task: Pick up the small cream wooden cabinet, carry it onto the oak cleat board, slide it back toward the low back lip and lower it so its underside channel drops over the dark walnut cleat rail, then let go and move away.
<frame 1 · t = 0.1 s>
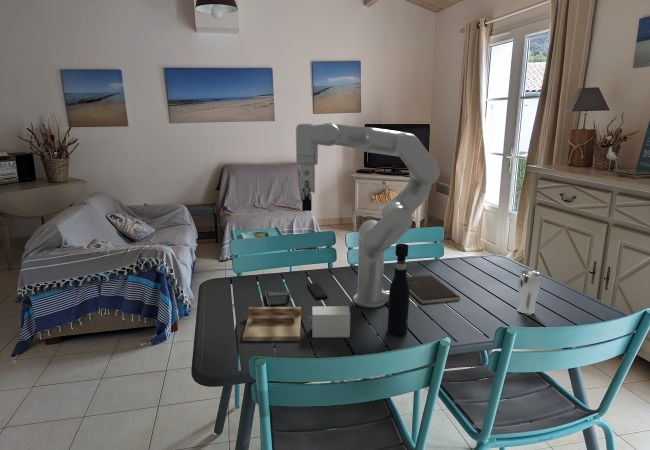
hand: (307, 207, 155), 37 cm above the table, tool pointing down, fingers open, 9 cm apart
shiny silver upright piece: (525, 312, 158), on the table
wine bottle: (397, 332, 142), on the table
remote control: (317, 293, 174), on the table
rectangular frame: (278, 303, 164), on the table
hardcover book: (427, 292, 176), on the table
cabinet: (330, 332, 142), on the table
cleat board: (273, 328, 144), on the table
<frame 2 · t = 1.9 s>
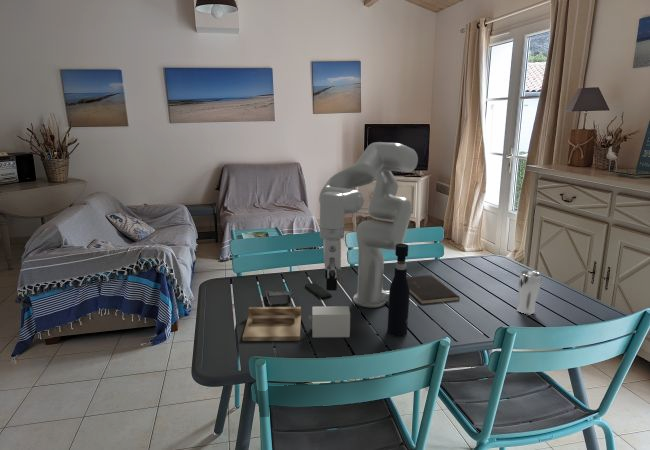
hand: (330, 284, 137), 17 cm above the table, tool pointing down, fingers open, 9 cm apart
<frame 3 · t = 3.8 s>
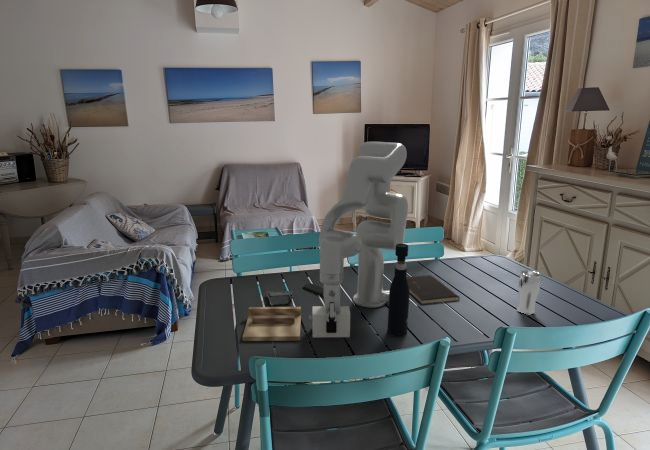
hand: (330, 326, 141), 2 cm above the table, tool pointing down, fingers closed on cabinet, 6 cm apart
cabinet: (330, 332, 142), on the table, touching gripper
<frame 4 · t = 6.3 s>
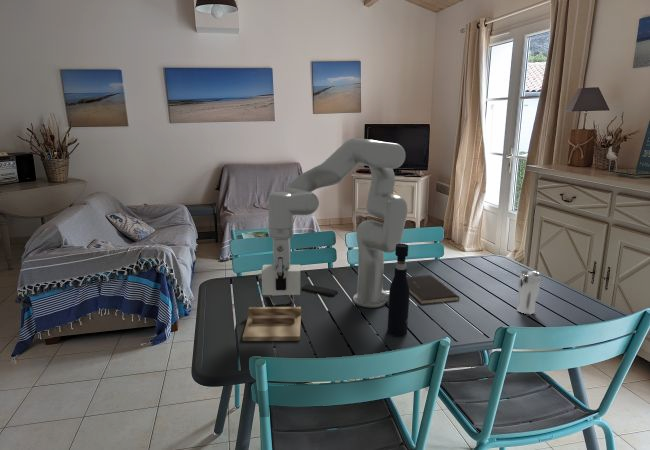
hand: (281, 285, 139), 16 cm above the table, tool pointing down, fingers closed on cabinet, 6 cm apart
cabinet: (281, 291, 139), point 14 cm above the table, touching gripper
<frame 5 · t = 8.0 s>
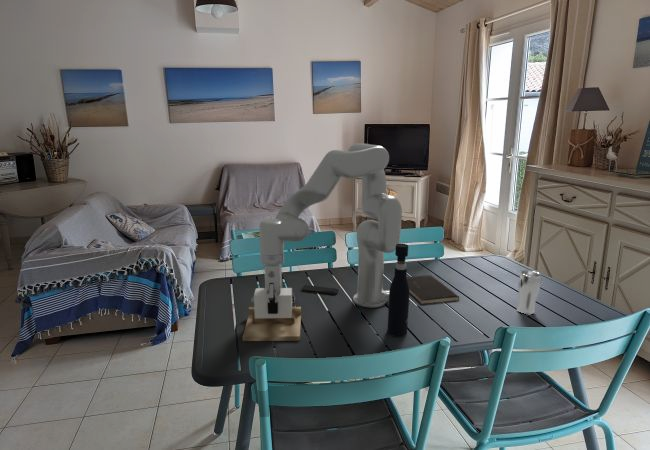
hand: (273, 308, 143), 7 cm above the table, tool pointing down, fingers closed on cabinet, 6 cm apart
cabinet: (273, 313, 144), point 5 cm above the table, touching gripper
when the fingers open (5 cm above the table, at t = 9.1 s): cabinet drops 1 cm, resting on cleat board.
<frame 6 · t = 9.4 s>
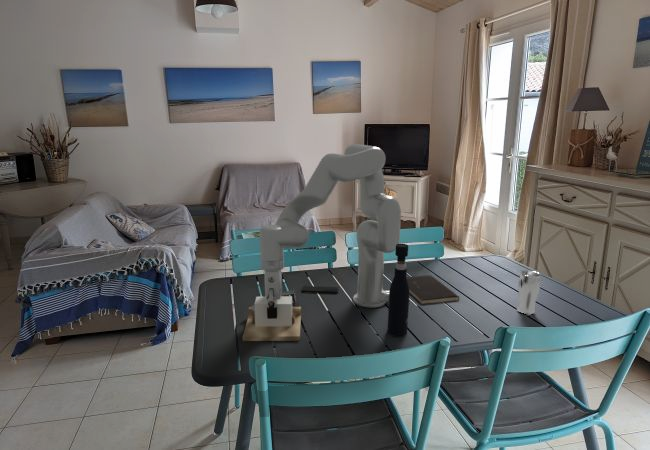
hand: (273, 311, 144), 5 cm above the table, tool pointing down, fingers open, 9 cm apart
cabinet: (274, 322, 145), point 1 cm above the table, touching cleat board
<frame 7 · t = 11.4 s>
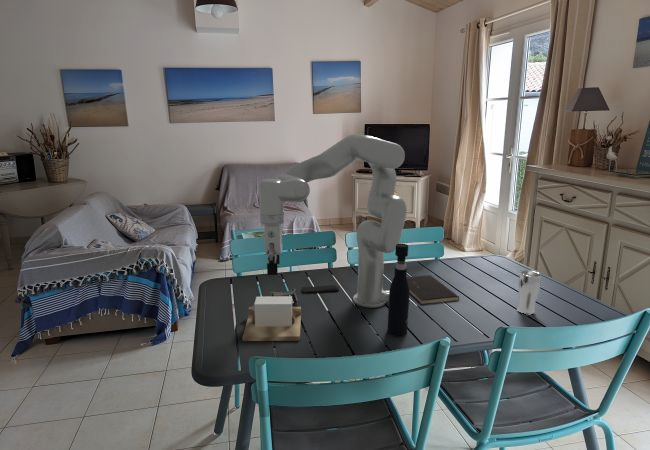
hand: (273, 269, 141), 20 cm above the table, tool pointing down, fingers open, 9 cm apart
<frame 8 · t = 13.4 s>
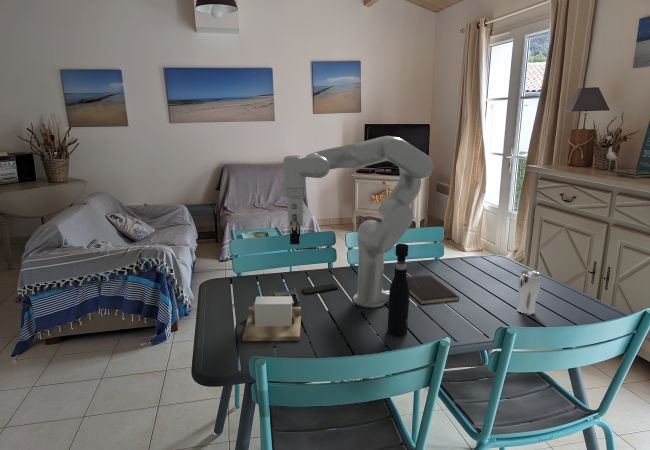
hand: (295, 240, 152), 26 cm above the table, tool pointing down, fingers open, 9 cm apart
at the end: cabinet 0.1 cm from the target spot on the cleat board, point 1.5 cm above the cleat board's base; cabinet tilted 0°; the gripper is holding nothing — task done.
